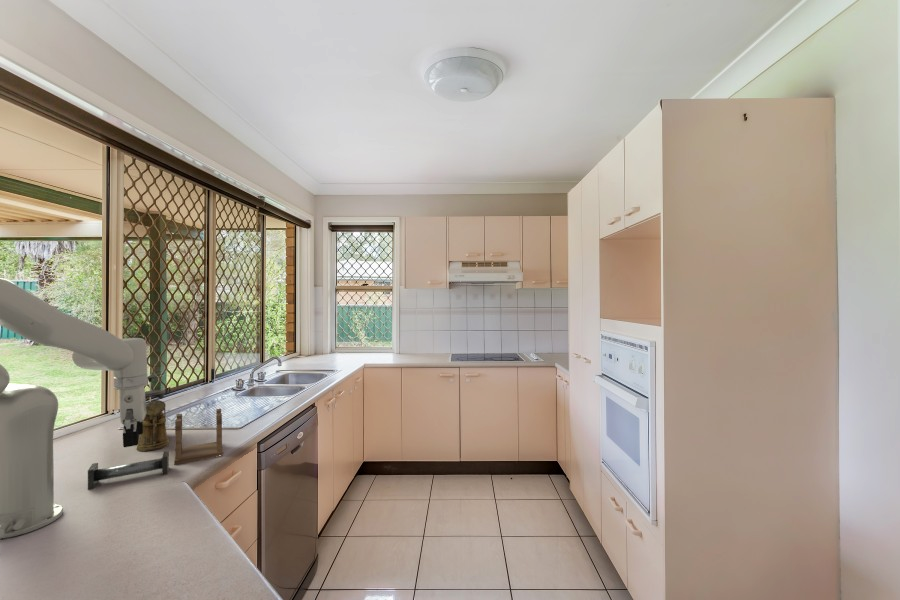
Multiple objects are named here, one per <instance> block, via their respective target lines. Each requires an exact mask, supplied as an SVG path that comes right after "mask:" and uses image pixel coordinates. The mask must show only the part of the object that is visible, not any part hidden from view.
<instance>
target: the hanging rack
mask: <svg viewBox="0 0 900 600" xmlns="http://www.w3.org/2000/svg"><path fill="white" fill-rule="evenodd" d="M215 412H216V413H215V415H216V416H215V417H216V422H215V423H216V426H215V429H216V438H215V439H216V441H213V442H212V441H211V442H206V443H201V444H195V445H189V446H183V413H177V414H176V419H175V423H174V424H175V425H174V427H175V428H174V429H175V430H174V431H175V433H174V435H175V436H174V438H175V439H174V443H175V444H174V445H175V446H174V447H175V449H174V451H175V455H174V461H173V463H174V466H175V465H176V466H177V465H181V464H185V463H192V462H191V461H193V462H197V461H196V460H198V461H201V459H203V460H208V458H209V459H213V458H212V457H214V458H217V457H216V456H219V455H224V451H223V413H222V408H216V410H215ZM219 457H220V456H219Z"/></svg>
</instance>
